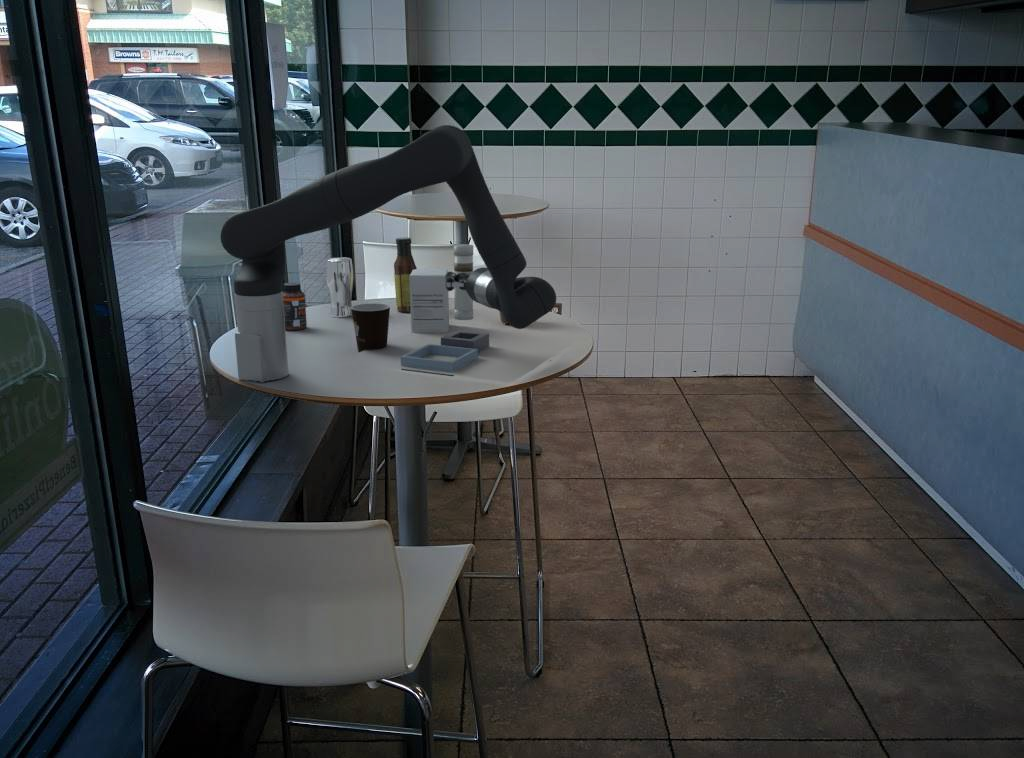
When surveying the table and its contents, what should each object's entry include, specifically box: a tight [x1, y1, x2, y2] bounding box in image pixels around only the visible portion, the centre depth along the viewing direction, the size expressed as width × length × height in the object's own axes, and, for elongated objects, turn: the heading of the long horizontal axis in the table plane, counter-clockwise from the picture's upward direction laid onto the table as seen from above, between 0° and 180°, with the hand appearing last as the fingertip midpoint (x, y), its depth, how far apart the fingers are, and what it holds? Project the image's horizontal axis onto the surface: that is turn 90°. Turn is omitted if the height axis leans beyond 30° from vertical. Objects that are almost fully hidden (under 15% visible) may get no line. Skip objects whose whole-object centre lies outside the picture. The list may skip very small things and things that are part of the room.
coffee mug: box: [351, 302, 391, 353], centre depth 201 cm, size 12×9×10 cm
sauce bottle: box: [393, 236, 418, 313], centre depth 240 cm, size 7×6×20 cm
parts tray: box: [400, 343, 479, 377], centre depth 188 cm, size 12×12×3 cm
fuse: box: [453, 243, 474, 321], centre depth 195 cm, size 4×4×16 cm
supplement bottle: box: [283, 282, 308, 331], centre depth 221 cm, size 6×6×11 cm
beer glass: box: [325, 257, 354, 318], centre depth 236 cm, size 7×7×15 cm
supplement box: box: [409, 268, 450, 334], centre depth 217 cm, size 9×9×15 cm
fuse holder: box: [440, 330, 490, 353], centre depth 198 cm, size 8×10×4 cm
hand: (458, 275), depth 197 cm, fingers closed on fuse, 4 cm apart
